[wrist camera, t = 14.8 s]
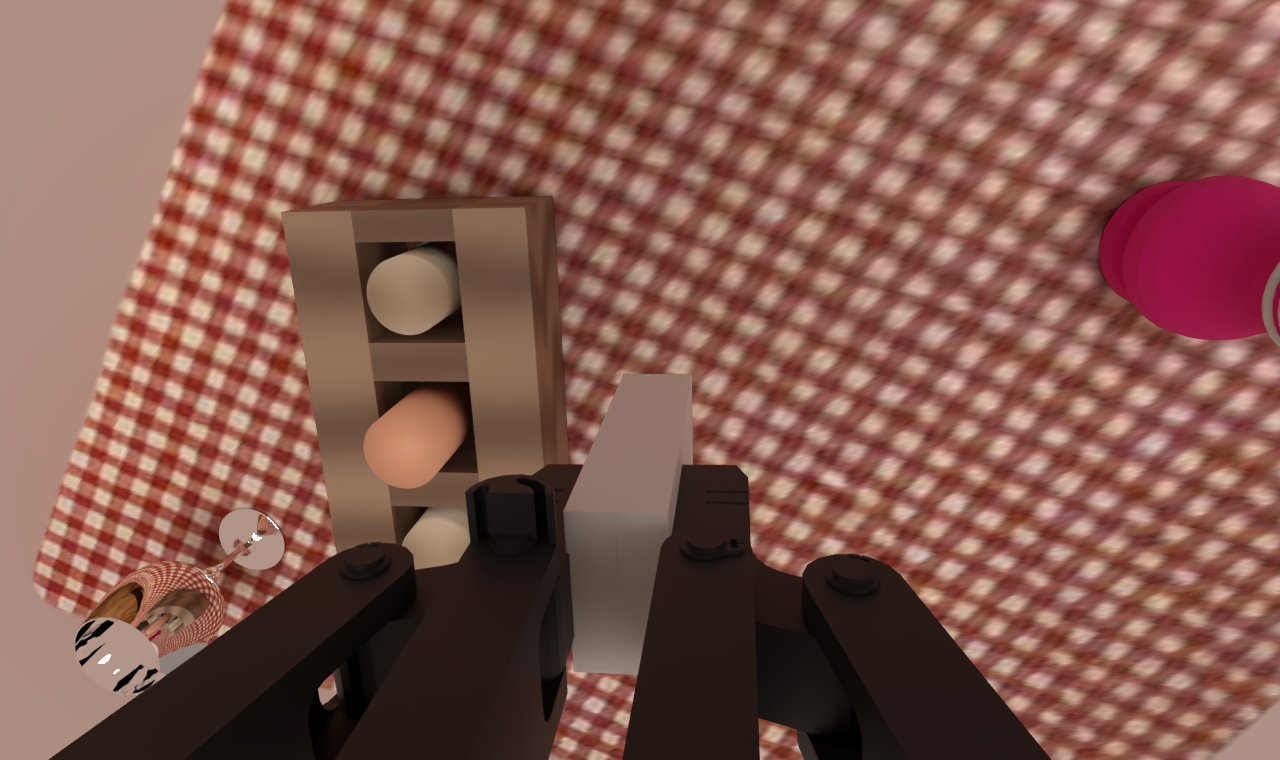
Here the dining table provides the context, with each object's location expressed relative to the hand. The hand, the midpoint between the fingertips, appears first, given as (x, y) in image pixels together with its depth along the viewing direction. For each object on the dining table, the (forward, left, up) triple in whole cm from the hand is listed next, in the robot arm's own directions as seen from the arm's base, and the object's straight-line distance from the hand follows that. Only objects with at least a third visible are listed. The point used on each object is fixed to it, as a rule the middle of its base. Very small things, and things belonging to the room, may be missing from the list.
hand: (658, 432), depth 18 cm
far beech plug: (+15, -14, -26) cm, 33 cm away
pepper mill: (0, +23, -27) cm, 35 cm away
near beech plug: (+1, -14, -26) cm, 29 cm away
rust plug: (+8, -14, -23) cm, 28 cm away
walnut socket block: (+8, -14, -26) cm, 31 cm away
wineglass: (+18, -29, -27) cm, 43 cm away
